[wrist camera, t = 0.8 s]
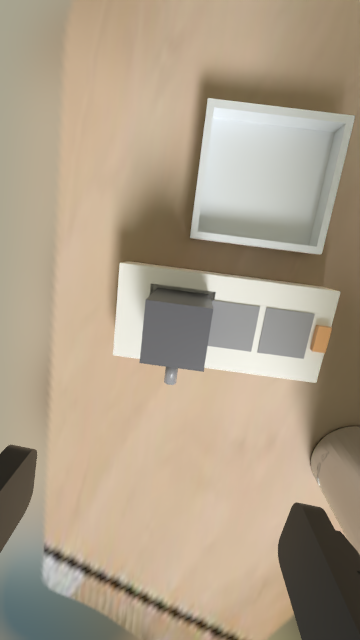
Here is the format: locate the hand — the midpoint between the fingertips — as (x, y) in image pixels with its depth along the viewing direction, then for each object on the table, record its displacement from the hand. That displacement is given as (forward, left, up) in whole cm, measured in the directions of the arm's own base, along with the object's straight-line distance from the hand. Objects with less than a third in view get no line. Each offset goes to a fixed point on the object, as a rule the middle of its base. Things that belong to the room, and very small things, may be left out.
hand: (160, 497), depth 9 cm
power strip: (-3, -1, -22) cm, 22 cm away
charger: (+1, -1, -20) cm, 20 cm away
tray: (-5, -14, -22) cm, 27 cm away
